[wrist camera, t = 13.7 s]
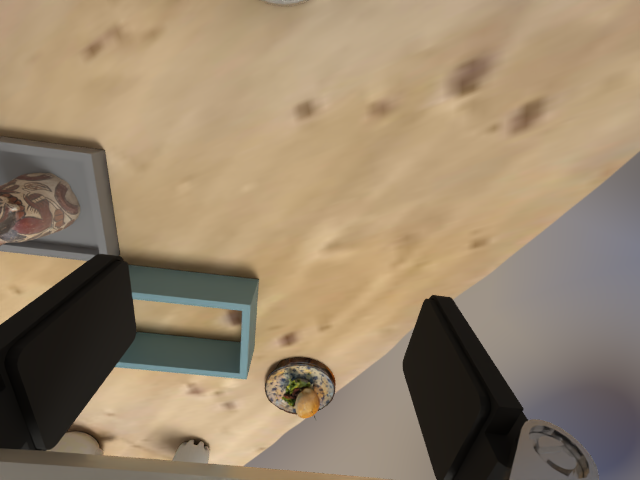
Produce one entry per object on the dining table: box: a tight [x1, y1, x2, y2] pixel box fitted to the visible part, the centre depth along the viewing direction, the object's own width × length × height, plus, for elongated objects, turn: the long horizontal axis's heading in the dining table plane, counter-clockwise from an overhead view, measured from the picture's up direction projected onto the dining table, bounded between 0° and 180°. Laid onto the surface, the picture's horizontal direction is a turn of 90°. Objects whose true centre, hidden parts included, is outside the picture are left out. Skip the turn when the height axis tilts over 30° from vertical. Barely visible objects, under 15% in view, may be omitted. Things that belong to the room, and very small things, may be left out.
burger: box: [265, 357, 335, 418], centre depth 51 cm, size 12×12×8 cm
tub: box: [115, 265, 259, 379], centre depth 44 cm, size 13×20×6 cm, turn 82°
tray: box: [0, 136, 120, 261], centre depth 39 cm, size 14×14×2 cm
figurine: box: [0, 173, 80, 246], centre depth 33 cm, size 7×7×12 cm
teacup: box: [46, 431, 103, 455], centre depth 56 cm, size 14×11×8 cm
